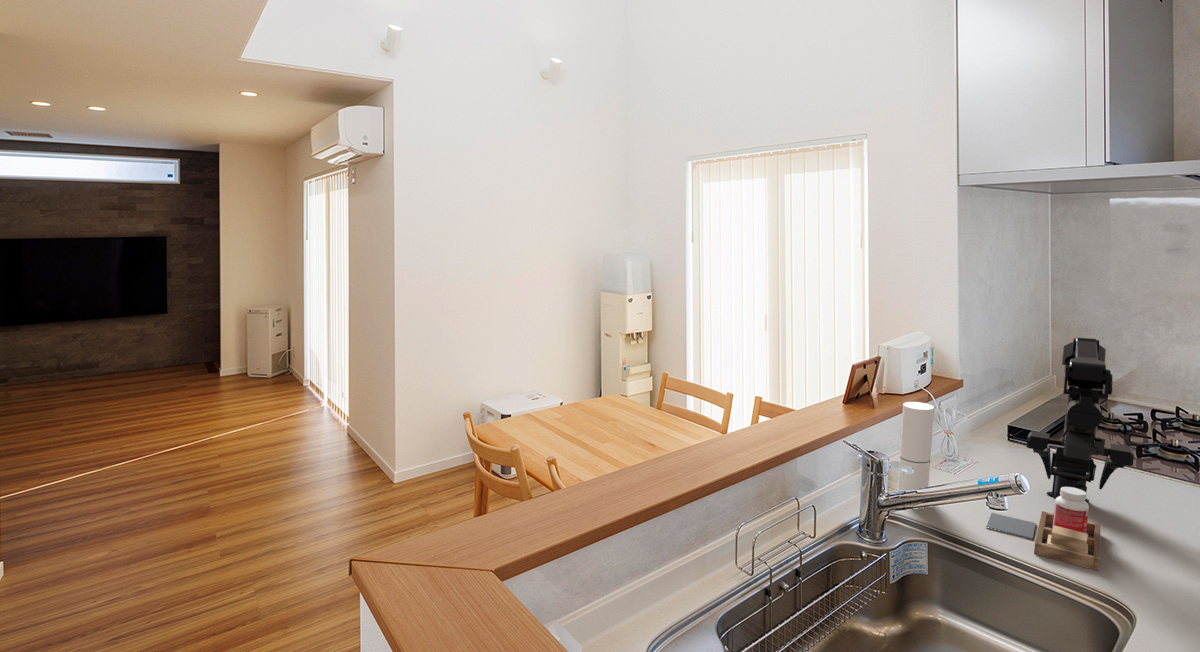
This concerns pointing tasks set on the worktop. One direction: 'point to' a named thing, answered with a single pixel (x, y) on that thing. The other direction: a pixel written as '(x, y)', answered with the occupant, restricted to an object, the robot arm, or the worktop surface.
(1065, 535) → the upper offcut
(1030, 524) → the mat
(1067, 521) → the pill bottle
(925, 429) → the cylindrical container
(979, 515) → the worktop surface
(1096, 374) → the robot arm
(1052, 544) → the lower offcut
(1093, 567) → the rack
